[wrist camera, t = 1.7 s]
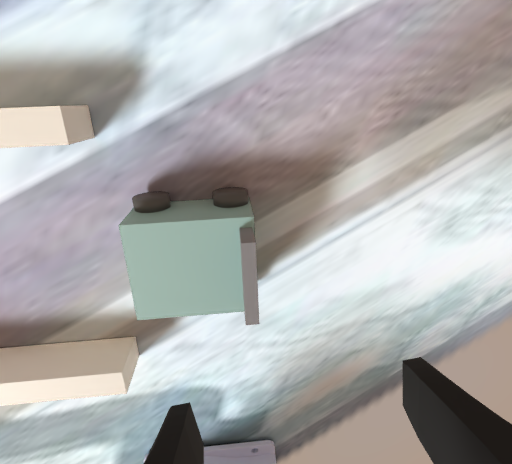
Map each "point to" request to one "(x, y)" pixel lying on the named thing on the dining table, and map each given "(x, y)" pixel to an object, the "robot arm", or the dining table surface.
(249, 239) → the cart
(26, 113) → the bay
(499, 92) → the dining table surface
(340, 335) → the dining table surface
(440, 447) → the robot arm
